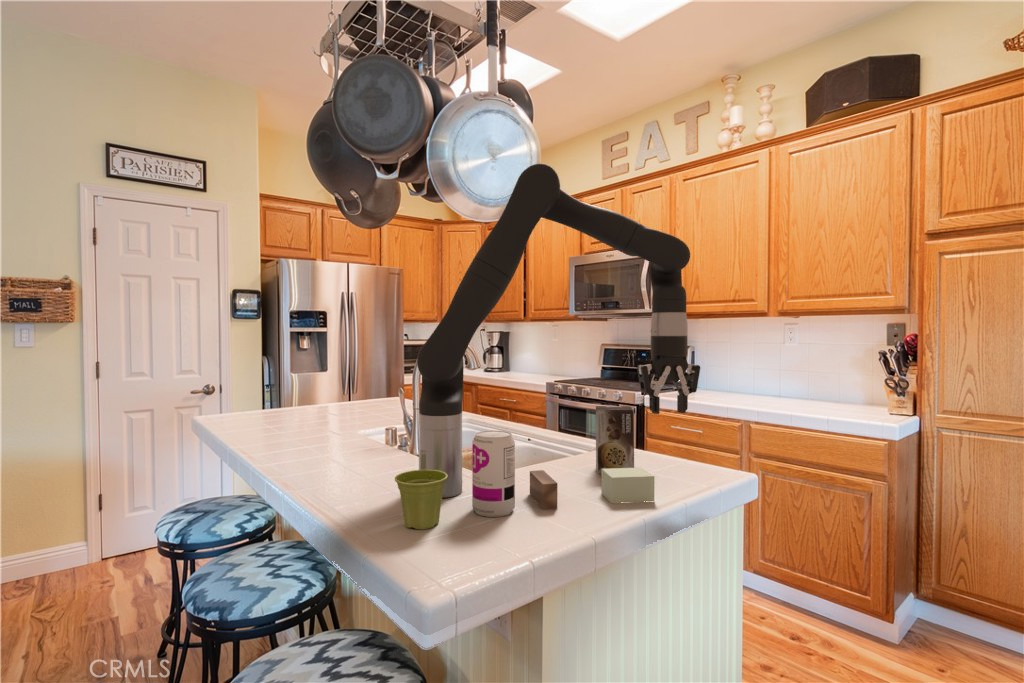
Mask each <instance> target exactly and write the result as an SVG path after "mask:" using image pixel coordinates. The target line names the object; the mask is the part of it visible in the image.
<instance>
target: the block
mask: <svg viewBox="0 0 1024 683" xmlns="http://www.w3.org/2000/svg"><path fill="white" fill-rule="evenodd" d="M600 491H601V494H602V496H604V498H605V499H606V500H608V501H609V503H610V504H612V503H621V502H644V501H645V503H647V502H646V501H654V502H655V475H653V474H652V473H651V472H649V471H647V470H646V469H644V468H643V467H634V468H610V469H602V474H601V490H600ZM621 504H622V503H621Z"/></svg>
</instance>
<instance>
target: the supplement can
mask: <svg viewBox="0 0 1024 683" xmlns="http://www.w3.org/2000/svg"><path fill="white" fill-rule="evenodd" d="M471 444H472V453H471V456H472V457H471V458H472V468H471V469H472V472H471V475H472V476H471V477H472V480H471V481H472V488H471V489H472V494H471V495H472V500H471V501H472V510H473V511H475V513H476V514H477V515H479V516H481V517H485V518H487V517H488V518H497V517H498V518H499V517H504V516H508V515H509V514H511V513H512V511H513V510H514V509H515V507H516V504H515V503H516V502H515V501H516V497H515V496H516V495H515V494H516V492H515V489H516V488H515V486H516V477H515V476H516V441H515V439H514V437H513V435H512V432H511V431H505V430H495V429H493V430H482V431H478V432H475V436H474V437H473V439H472V443H471Z"/></svg>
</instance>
